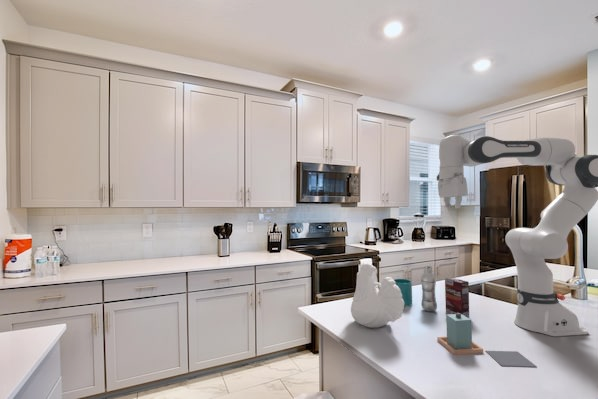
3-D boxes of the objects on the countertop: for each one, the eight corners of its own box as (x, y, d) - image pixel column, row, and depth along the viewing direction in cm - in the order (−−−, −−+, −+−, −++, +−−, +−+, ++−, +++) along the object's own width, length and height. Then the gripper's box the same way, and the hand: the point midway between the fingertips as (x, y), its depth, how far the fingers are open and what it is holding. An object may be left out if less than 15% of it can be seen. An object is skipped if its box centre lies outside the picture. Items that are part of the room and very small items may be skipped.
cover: (461, 342, 104) (460, 310, 104) (472, 349, 99) (471, 316, 99) (447, 343, 104) (446, 311, 104) (456, 350, 98) (455, 317, 98)
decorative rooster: (345, 318, 129) (343, 262, 130) (376, 314, 134) (375, 259, 134) (376, 344, 105) (374, 274, 106) (413, 337, 110) (411, 270, 111)
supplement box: (445, 313, 133) (444, 278, 133) (452, 311, 135) (451, 277, 135) (462, 320, 125) (461, 282, 125) (470, 318, 127) (469, 281, 127)
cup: (384, 302, 149) (384, 280, 149) (404, 299, 153) (403, 278, 153) (395, 308, 141) (395, 284, 141) (416, 305, 144) (415, 282, 145)
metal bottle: (438, 313, 133) (437, 269, 133) (423, 312, 134) (421, 268, 135) (435, 308, 139) (434, 266, 140) (420, 307, 141) (419, 265, 141)
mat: (517, 353, 97) (517, 351, 97) (537, 369, 88) (536, 366, 88) (485, 353, 98) (485, 350, 98) (501, 368, 89) (501, 365, 89)
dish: (463, 340, 107) (463, 332, 107) (483, 354, 97) (483, 346, 97) (437, 342, 106) (437, 334, 106) (454, 356, 96) (454, 347, 96)
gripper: (471, 171, 111) (472, 208, 111) (449, 176, 131) (450, 207, 131) (454, 172, 112) (455, 208, 111) (435, 177, 132) (436, 208, 132)
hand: (452, 208), depth 121 cm, fingers open, 8 cm apart
